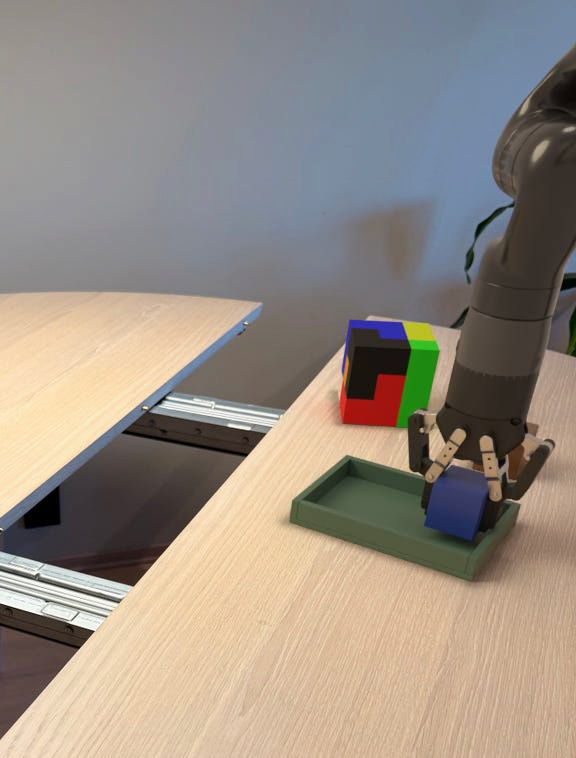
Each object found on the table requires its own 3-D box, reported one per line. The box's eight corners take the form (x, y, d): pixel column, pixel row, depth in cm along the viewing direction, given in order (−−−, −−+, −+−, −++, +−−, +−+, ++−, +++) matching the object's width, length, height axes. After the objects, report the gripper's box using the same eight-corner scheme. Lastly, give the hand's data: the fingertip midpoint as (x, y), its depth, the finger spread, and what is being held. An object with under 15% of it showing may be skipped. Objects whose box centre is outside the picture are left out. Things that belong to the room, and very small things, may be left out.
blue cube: (488, 521, 101) (500, 477, 98) (471, 541, 97) (484, 496, 94) (441, 507, 103) (451, 464, 100) (423, 526, 100) (433, 482, 97)
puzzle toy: (337, 393, 133) (349, 319, 127) (413, 397, 132) (428, 323, 126) (342, 423, 125) (355, 346, 119) (423, 428, 124) (439, 350, 118)
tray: (515, 525, 104) (521, 503, 102) (471, 581, 95) (477, 558, 93) (343, 475, 113) (346, 454, 111) (288, 521, 104) (291, 499, 102)
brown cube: (527, 464, 115) (539, 424, 113) (514, 480, 112) (526, 439, 109) (485, 453, 118) (495, 414, 115) (471, 468, 115) (481, 428, 112)
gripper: (590, 363, 89) (539, 527, 99) (437, 331, 96) (403, 487, 106) (568, 388, 84) (516, 558, 94) (408, 352, 91) (375, 514, 101)
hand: (456, 520), depth 100 cm, fingers closed on blue cube, 5 cm apart
